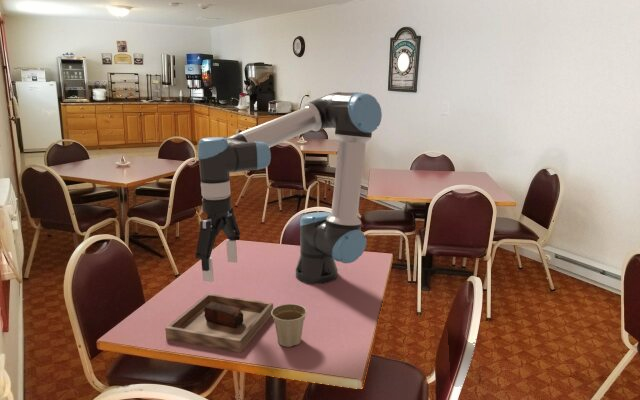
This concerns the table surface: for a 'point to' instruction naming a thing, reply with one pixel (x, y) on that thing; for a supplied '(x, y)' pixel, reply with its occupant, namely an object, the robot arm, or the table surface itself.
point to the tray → (218, 336)
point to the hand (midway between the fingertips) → (221, 271)
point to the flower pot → (289, 323)
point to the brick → (223, 315)
